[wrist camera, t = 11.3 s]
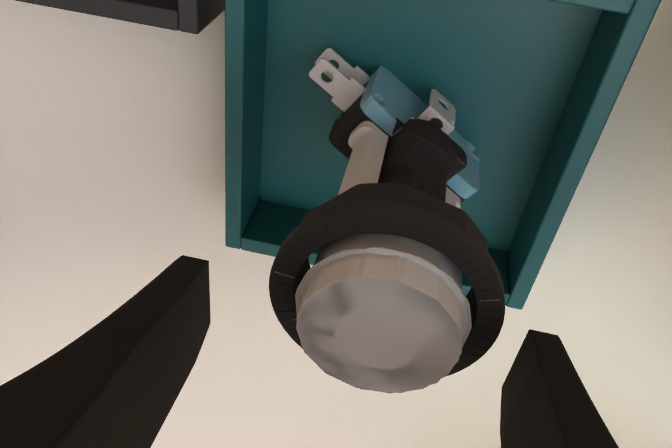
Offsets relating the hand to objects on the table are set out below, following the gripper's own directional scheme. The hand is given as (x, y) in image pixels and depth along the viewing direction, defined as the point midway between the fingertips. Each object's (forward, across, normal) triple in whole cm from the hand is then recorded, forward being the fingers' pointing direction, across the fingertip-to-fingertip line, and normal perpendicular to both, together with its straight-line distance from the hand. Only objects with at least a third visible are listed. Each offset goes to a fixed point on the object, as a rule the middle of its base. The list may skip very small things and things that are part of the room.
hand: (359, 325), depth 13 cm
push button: (+10, 0, -1) cm, 10 cm away
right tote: (+10, 0, -1) cm, 10 cm away
